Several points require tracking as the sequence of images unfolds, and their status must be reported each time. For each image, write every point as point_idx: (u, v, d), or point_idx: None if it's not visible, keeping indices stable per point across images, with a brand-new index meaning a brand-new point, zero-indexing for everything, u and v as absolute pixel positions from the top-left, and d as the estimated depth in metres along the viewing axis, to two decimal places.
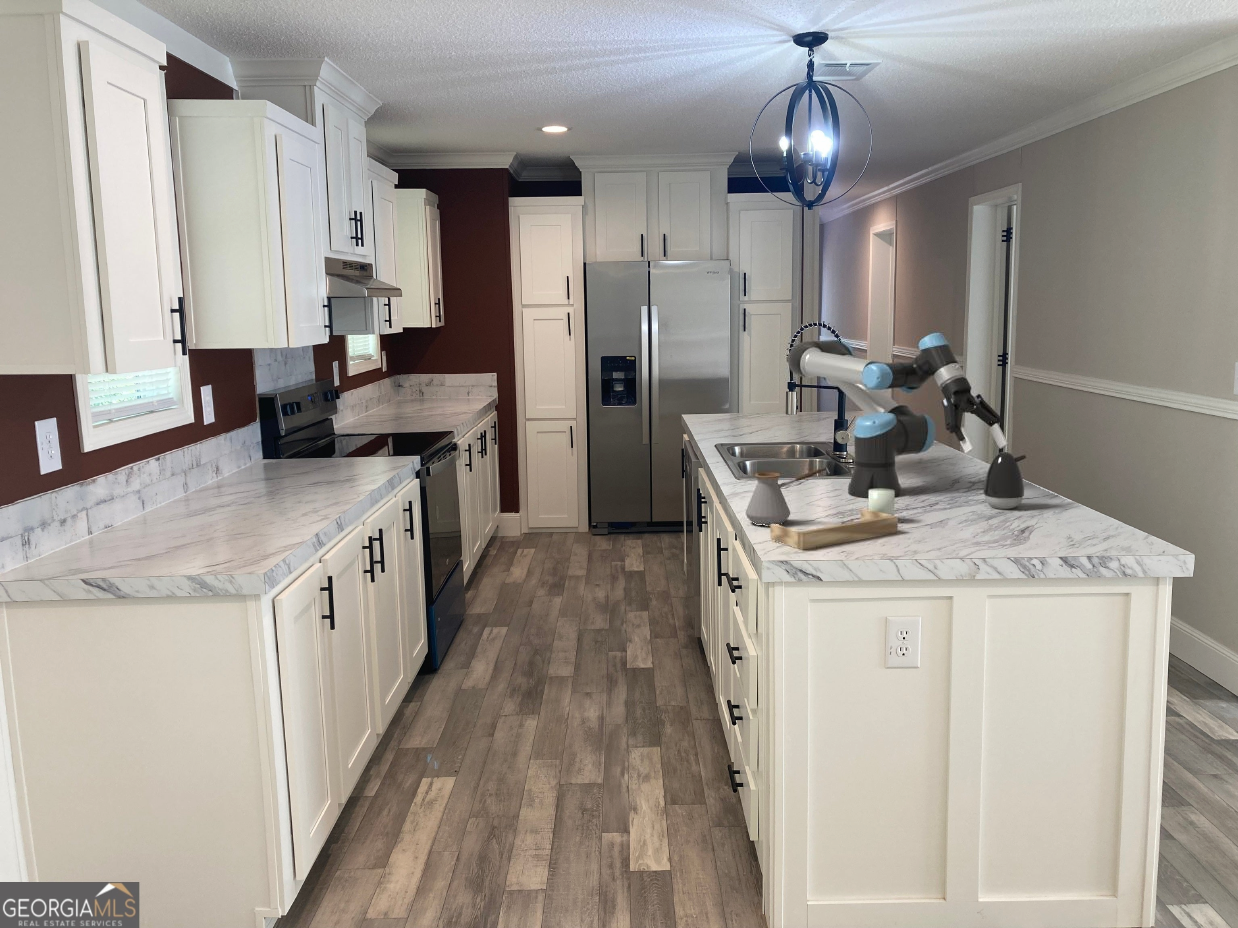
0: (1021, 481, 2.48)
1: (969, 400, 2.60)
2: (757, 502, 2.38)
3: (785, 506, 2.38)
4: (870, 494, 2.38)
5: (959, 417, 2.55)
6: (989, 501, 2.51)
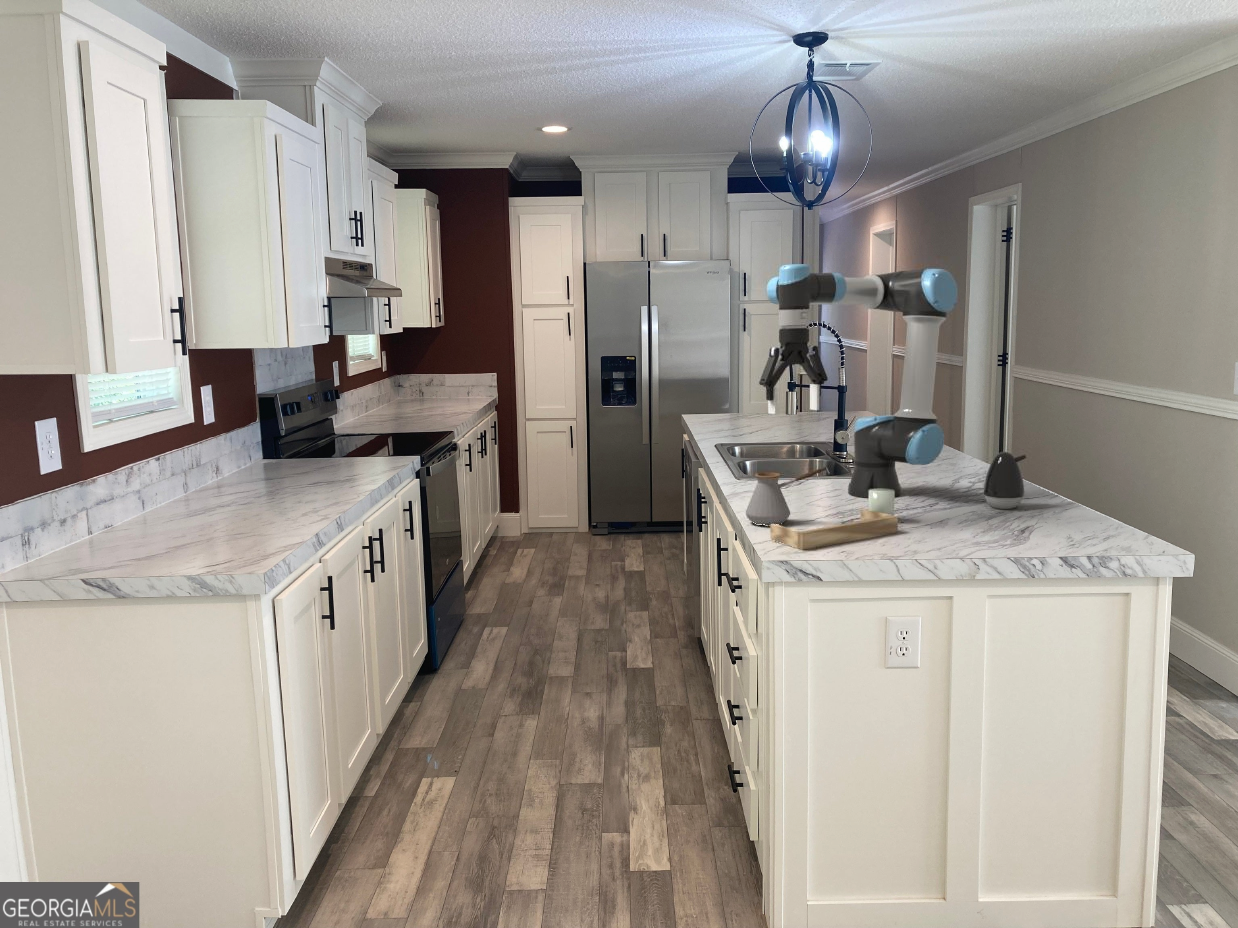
0: (1021, 481, 2.48)
1: (800, 354, 2.34)
2: (757, 502, 2.38)
3: (785, 506, 2.38)
4: (870, 494, 2.38)
5: (778, 374, 2.32)
6: (989, 501, 2.51)
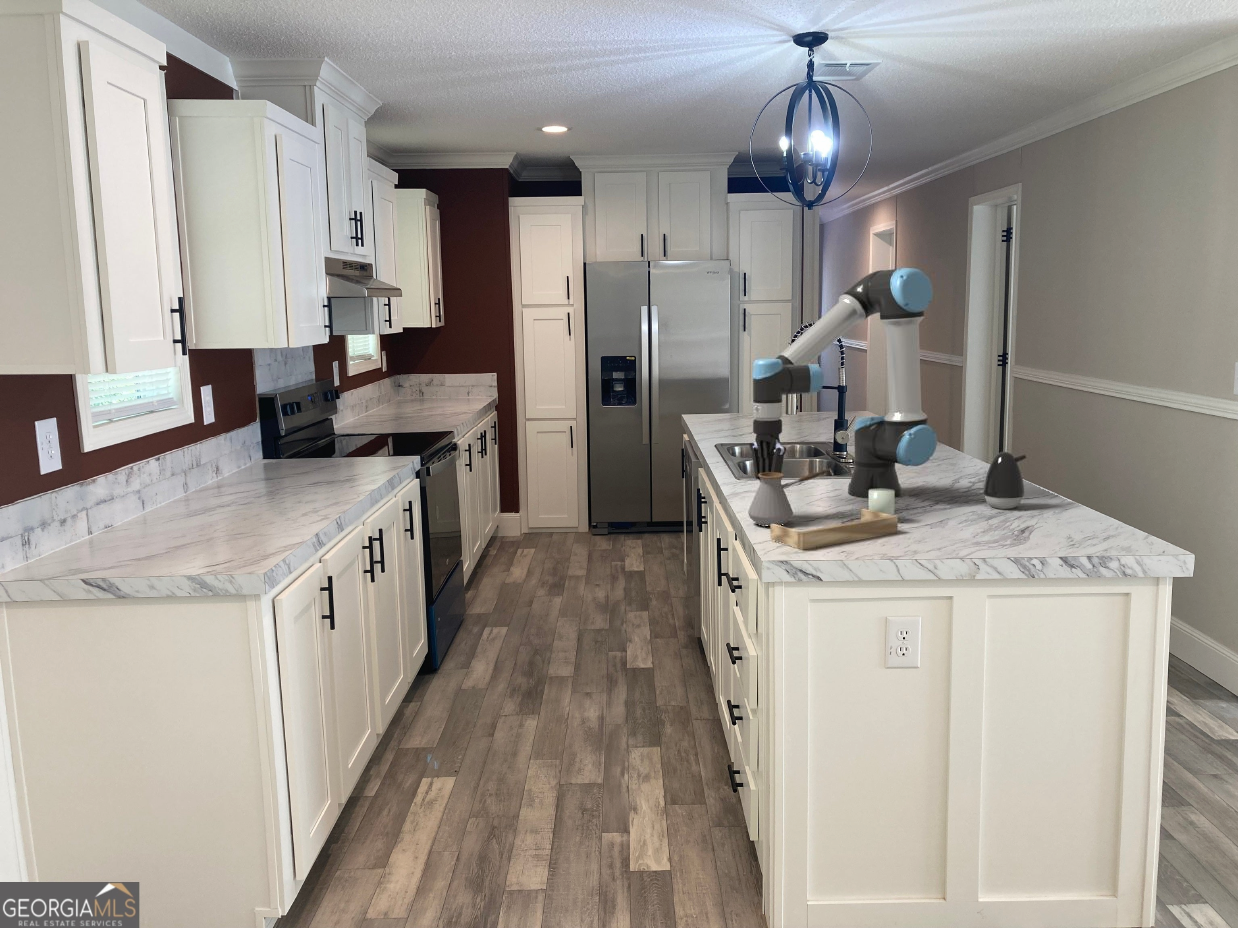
0: (1021, 481, 2.48)
1: None
2: (759, 503, 2.36)
3: (788, 507, 2.37)
4: (870, 494, 2.38)
5: (760, 468, 2.46)
6: (989, 501, 2.51)
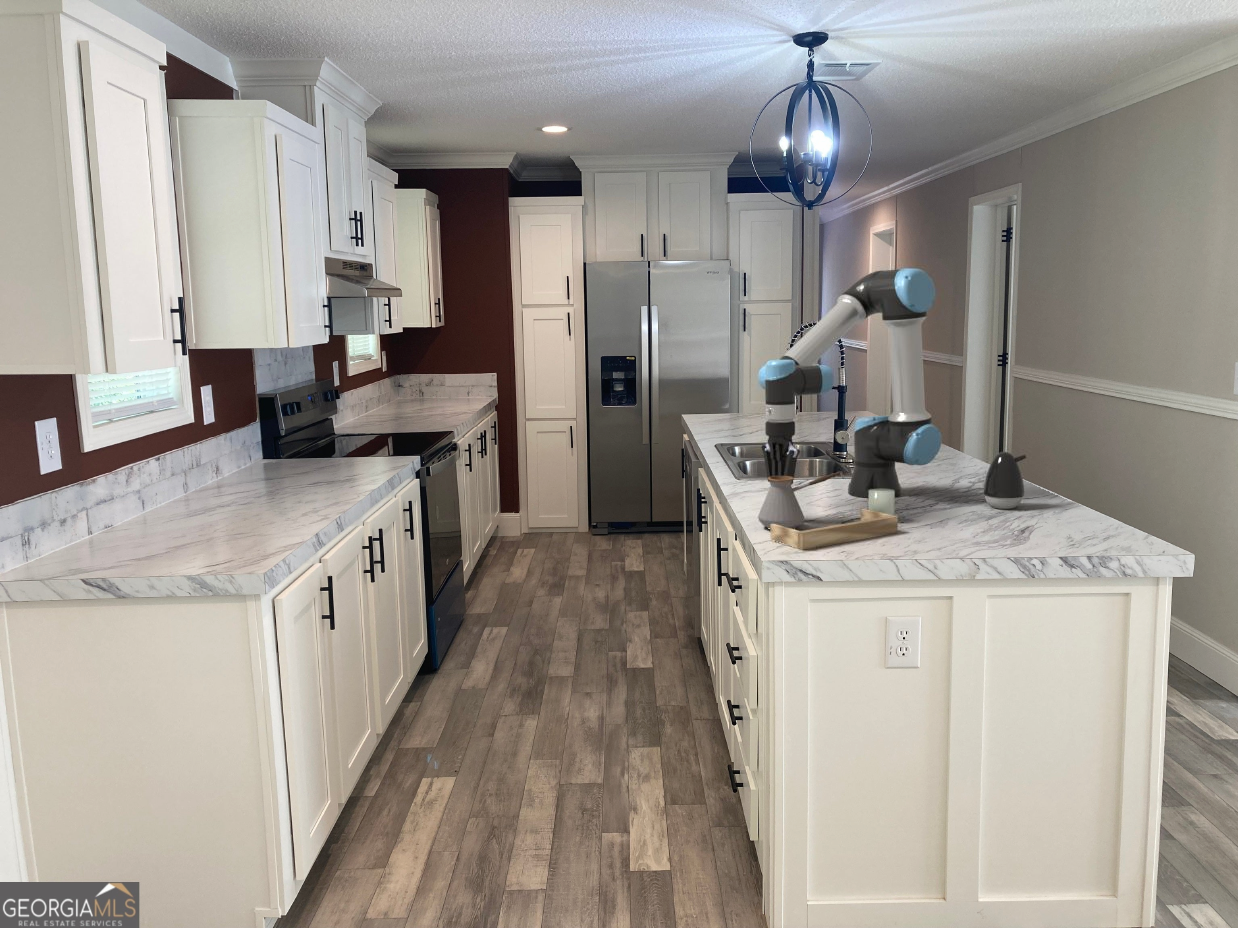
0: (1021, 481, 2.48)
1: None
2: (768, 506, 2.32)
3: (798, 511, 2.32)
4: (870, 494, 2.38)
5: (772, 471, 2.42)
6: (989, 501, 2.51)
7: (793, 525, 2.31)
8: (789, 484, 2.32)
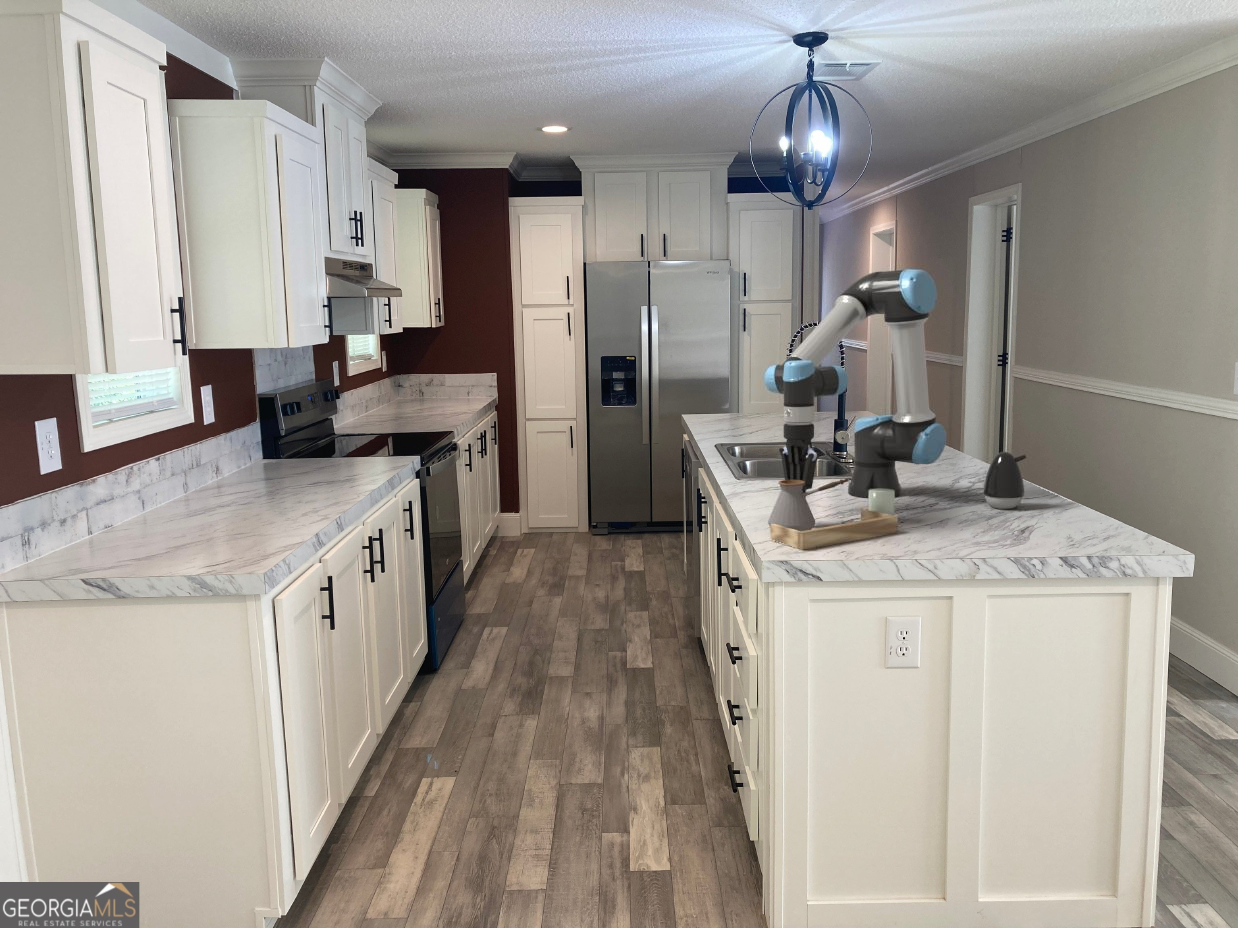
0: (1021, 481, 2.48)
1: None
2: (775, 510, 2.27)
3: (806, 516, 2.25)
4: (870, 494, 2.38)
5: (791, 475, 2.35)
6: (989, 501, 2.51)
7: None
8: (798, 489, 2.26)
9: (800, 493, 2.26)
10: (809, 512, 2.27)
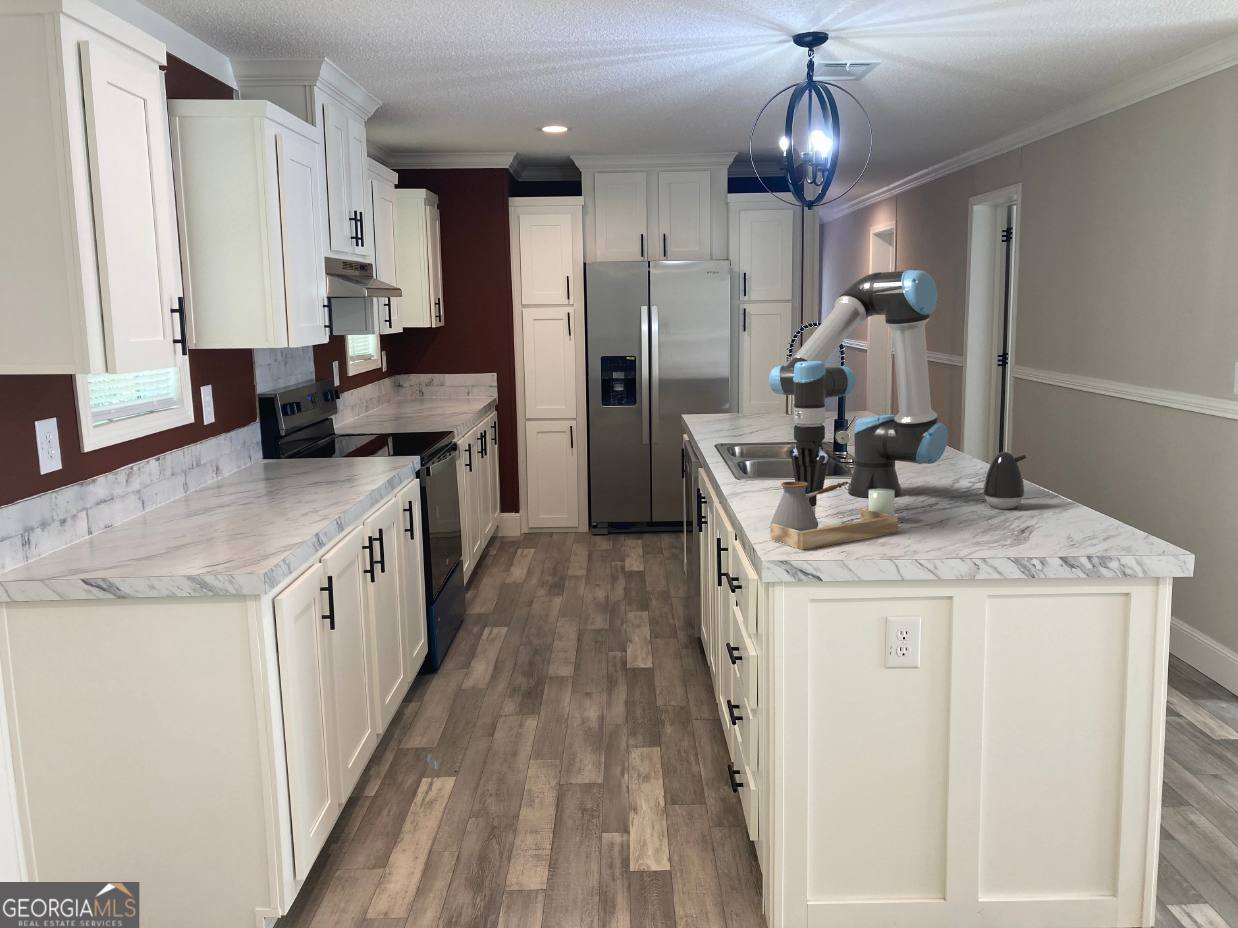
0: (1021, 481, 2.48)
1: None
2: (776, 511, 2.26)
3: (805, 519, 2.22)
4: (870, 494, 2.38)
5: (801, 477, 2.32)
6: (989, 501, 2.51)
7: None
8: (799, 491, 2.24)
9: (801, 495, 2.24)
10: (810, 515, 2.24)
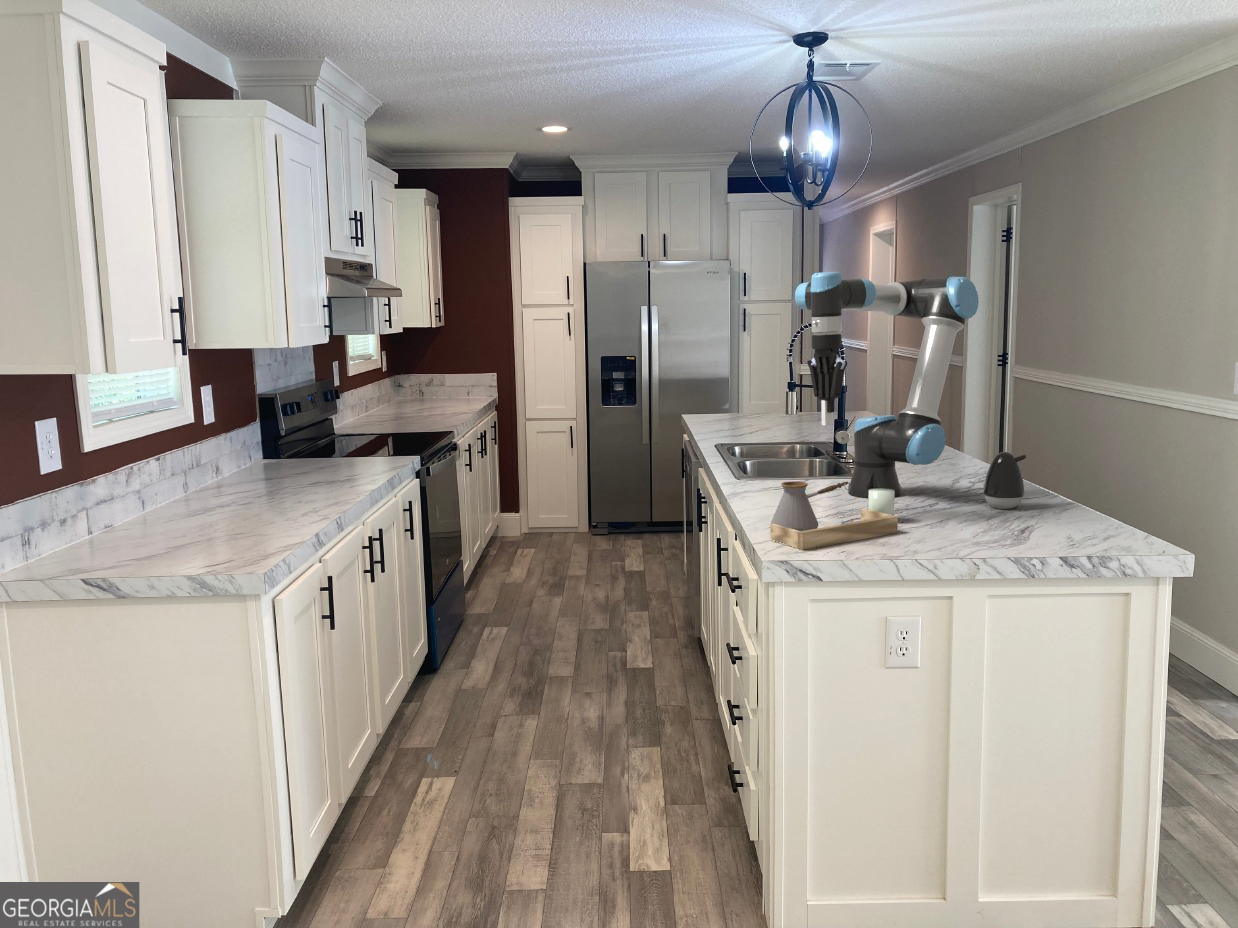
0: (1021, 481, 2.48)
1: None
2: (776, 512, 2.26)
3: (805, 519, 2.22)
4: (870, 494, 2.38)
5: (819, 385, 2.42)
6: (989, 501, 2.51)
7: None
8: (799, 491, 2.24)
9: (801, 495, 2.24)
10: (810, 515, 2.24)
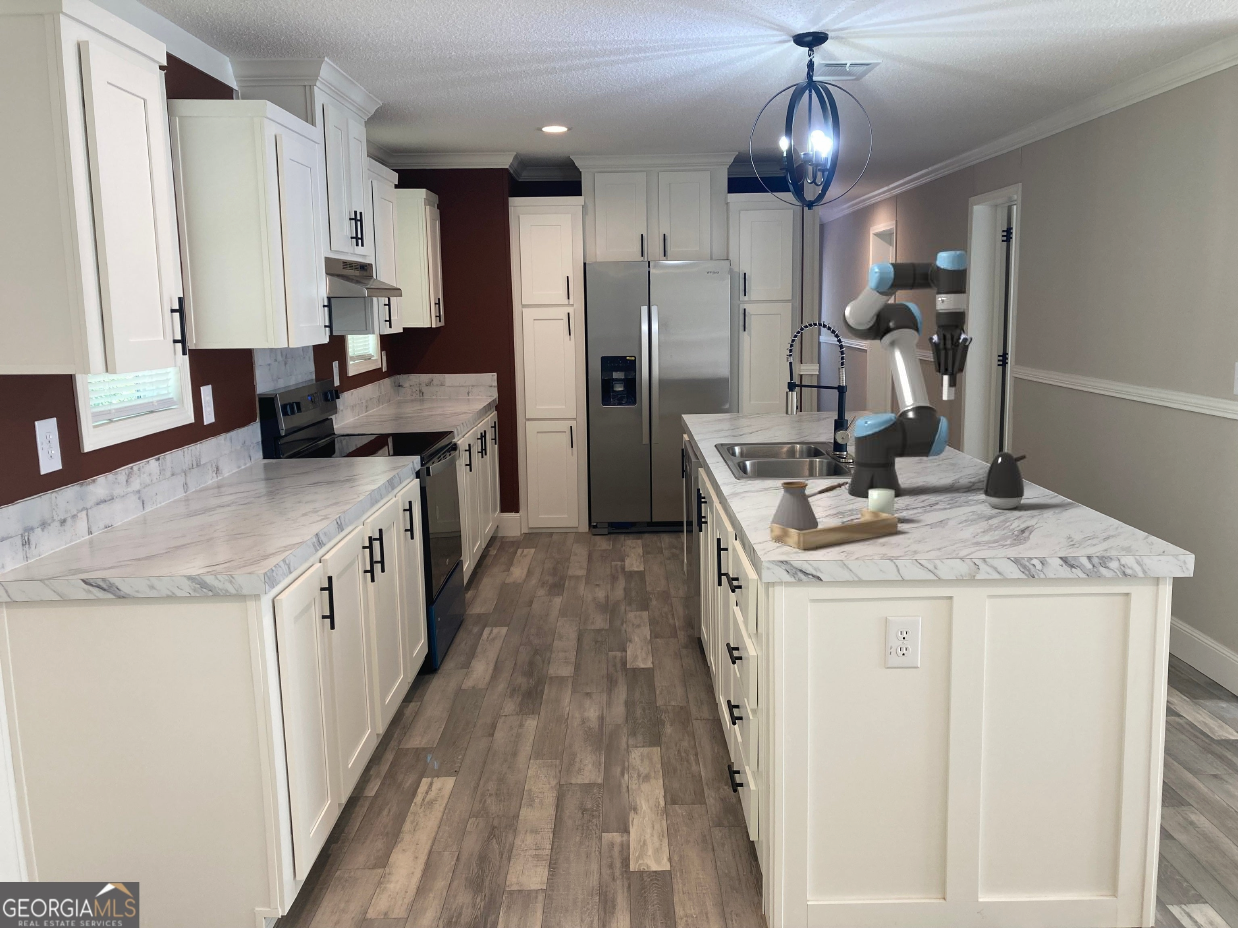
0: (1021, 481, 2.48)
1: None
2: (776, 512, 2.26)
3: (805, 519, 2.22)
4: (870, 494, 2.38)
5: (941, 361, 2.50)
6: (989, 501, 2.51)
7: None
8: (799, 491, 2.24)
9: (801, 495, 2.24)
10: (810, 515, 2.24)
